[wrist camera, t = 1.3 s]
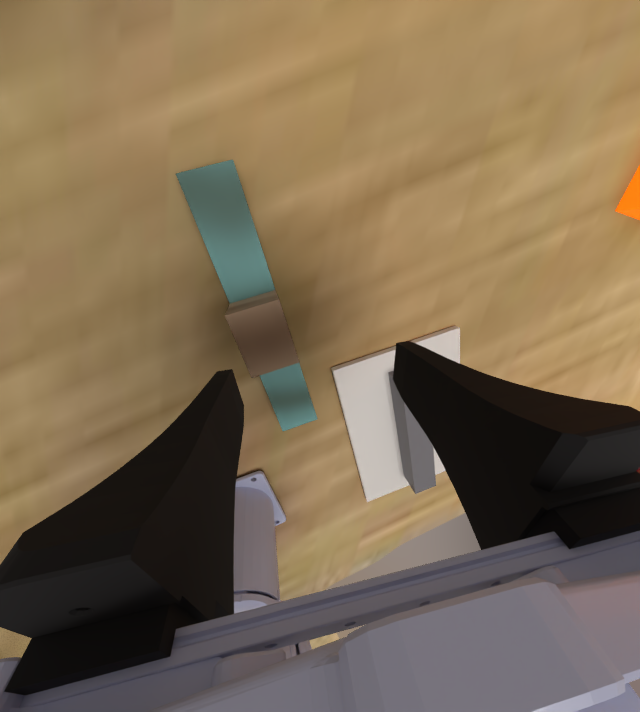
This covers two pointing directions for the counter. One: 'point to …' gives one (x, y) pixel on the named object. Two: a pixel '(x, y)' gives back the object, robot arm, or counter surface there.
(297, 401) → the bar
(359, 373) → the ridge board
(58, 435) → the counter surface
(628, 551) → the robot arm
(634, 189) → the orange juice
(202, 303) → the counter surface
